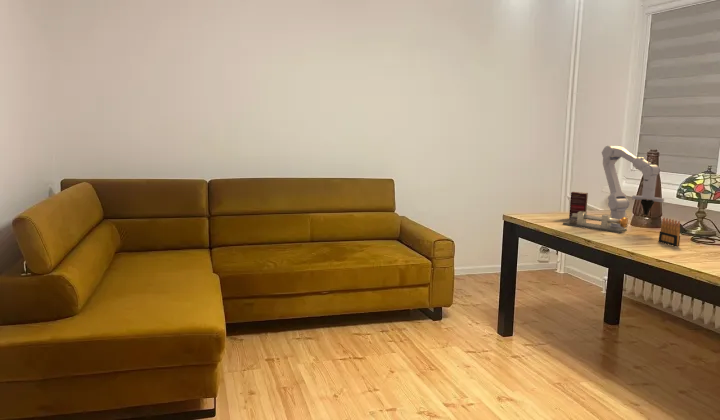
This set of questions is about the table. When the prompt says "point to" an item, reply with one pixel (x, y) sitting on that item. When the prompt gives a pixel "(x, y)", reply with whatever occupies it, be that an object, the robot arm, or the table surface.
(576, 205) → the supplement box
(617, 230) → the plate
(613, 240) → the table surface
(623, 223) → the shaft
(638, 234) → the table surface
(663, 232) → the ammunition clip
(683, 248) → the table surface
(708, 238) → the table surface
